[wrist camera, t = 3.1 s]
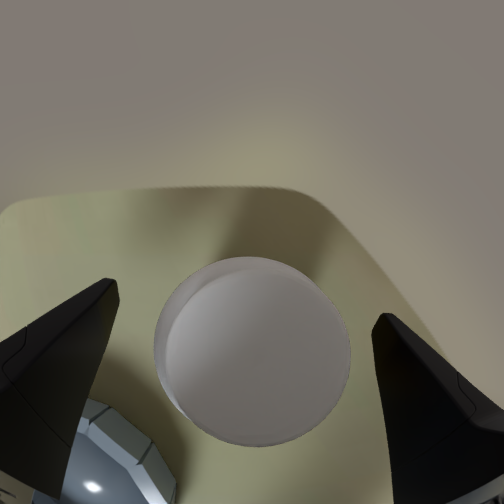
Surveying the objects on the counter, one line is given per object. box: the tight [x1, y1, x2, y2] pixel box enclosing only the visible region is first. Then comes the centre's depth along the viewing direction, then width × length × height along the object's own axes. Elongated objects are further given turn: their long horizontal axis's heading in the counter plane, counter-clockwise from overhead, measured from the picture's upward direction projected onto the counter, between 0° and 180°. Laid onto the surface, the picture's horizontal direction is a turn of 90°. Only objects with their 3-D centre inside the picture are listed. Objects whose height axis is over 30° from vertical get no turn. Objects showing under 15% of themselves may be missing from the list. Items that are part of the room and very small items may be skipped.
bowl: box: [32, 398, 177, 504], centre depth 10 cm, size 12×12×3 cm
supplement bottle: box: [154, 256, 351, 447], centre depth 10 cm, size 6×6×10 cm
